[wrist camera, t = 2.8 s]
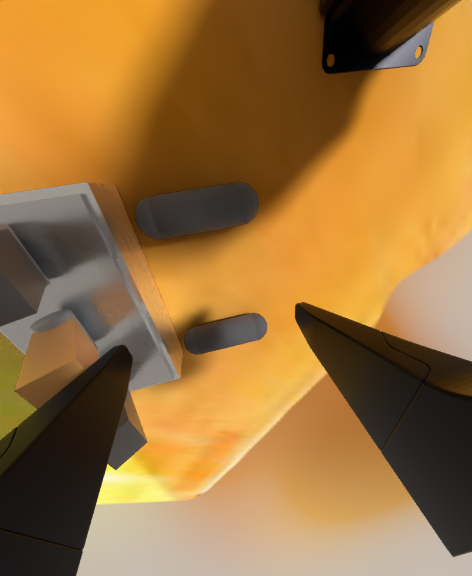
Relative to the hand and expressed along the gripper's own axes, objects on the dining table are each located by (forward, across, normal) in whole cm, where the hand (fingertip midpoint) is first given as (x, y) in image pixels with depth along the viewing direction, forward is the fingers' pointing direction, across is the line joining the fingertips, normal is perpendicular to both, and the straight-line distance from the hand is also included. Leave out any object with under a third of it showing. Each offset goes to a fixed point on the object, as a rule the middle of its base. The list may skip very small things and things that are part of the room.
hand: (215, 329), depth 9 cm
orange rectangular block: (+2, +8, 0) cm, 8 cm away
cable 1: (+6, 0, -5) cm, 8 cm away
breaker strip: (+6, +8, 0) cm, 10 cm away
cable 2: (+6, 0, +5) cm, 8 cm away
